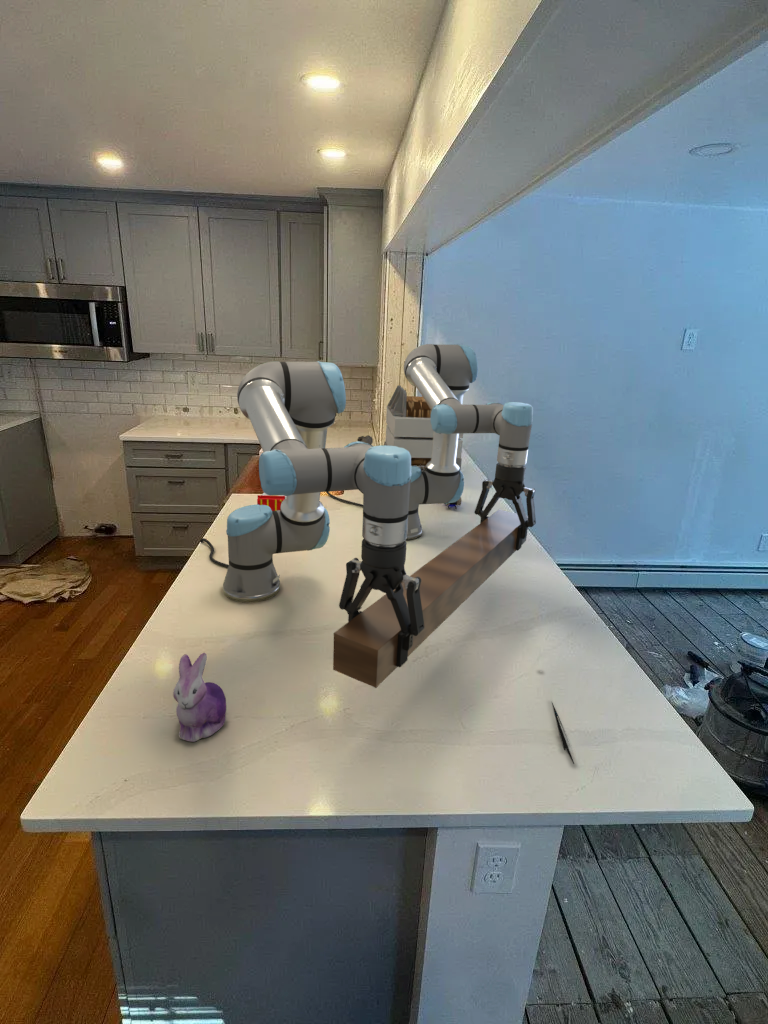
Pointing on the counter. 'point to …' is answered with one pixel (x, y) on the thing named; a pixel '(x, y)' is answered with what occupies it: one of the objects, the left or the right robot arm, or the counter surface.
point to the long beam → (425, 599)
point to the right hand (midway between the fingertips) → (501, 544)
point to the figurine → (198, 701)
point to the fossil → (365, 439)
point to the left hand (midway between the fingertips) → (378, 653)
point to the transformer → (412, 427)
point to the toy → (271, 501)
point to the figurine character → (454, 504)
